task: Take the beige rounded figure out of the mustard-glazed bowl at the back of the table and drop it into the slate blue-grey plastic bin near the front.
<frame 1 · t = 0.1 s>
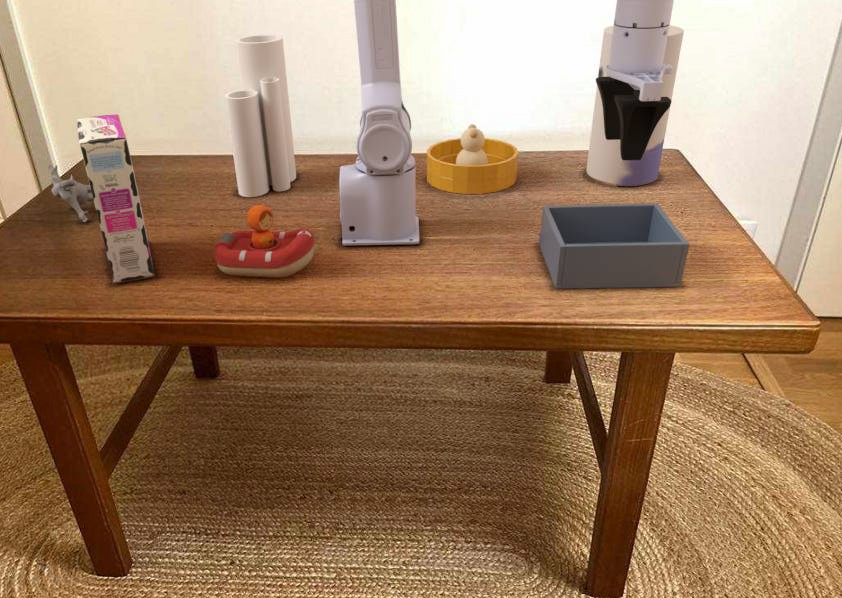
hand: (622, 148, 85), 10 cm above the table, tool pointing down, fingers open, 7 cm apart
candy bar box: (132, 263, 88), on the table
elephant figurine: (80, 212, 103), on the table
container: (621, 176, 106), on the table
bin: (605, 264, 82), on the table
bowl: (471, 181, 107), on the table
vase: (270, 185, 109), on the table
beige rounded figure: (471, 178, 106), resting on bowl
toy boat: (267, 268, 86), on the table
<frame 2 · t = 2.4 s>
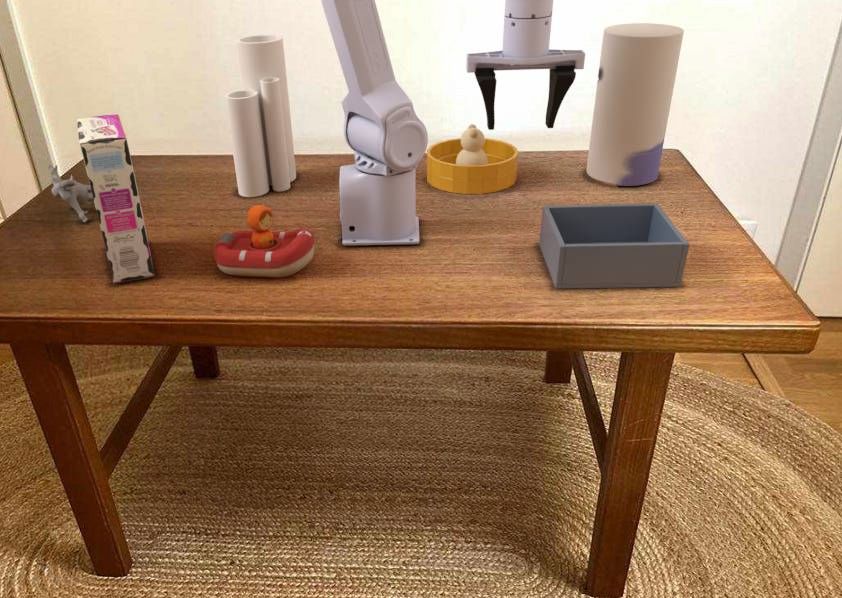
hand: (519, 126, 96), 10 cm above the table, tool pointing down, fingers open, 7 cm apart
nothing on the table moved.
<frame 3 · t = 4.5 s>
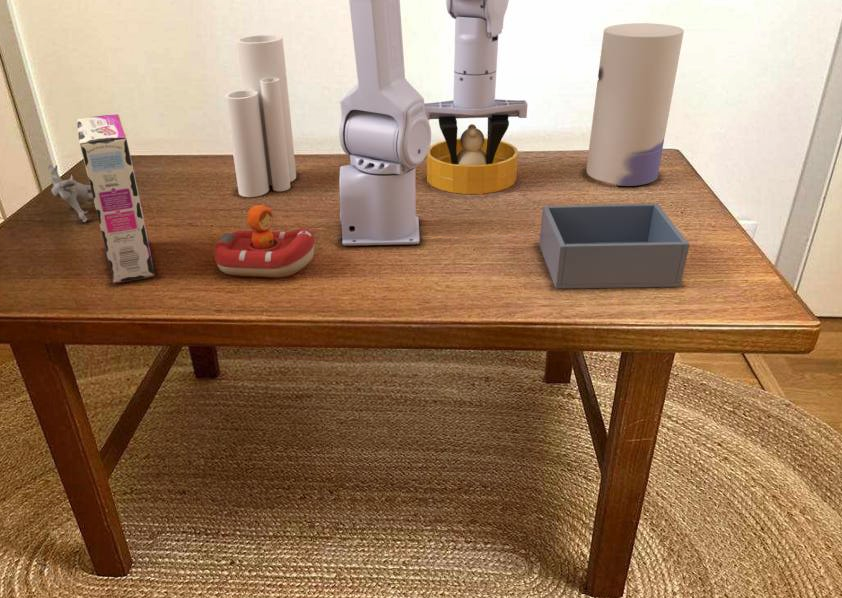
hand: (471, 168, 106), 2 cm above the table, tool pointing down, fingers closed on beige rounded figure, 4 cm apart
beige rounded figure: (470, 178, 106), resting on bowl, touching gripper
everything else where it was.
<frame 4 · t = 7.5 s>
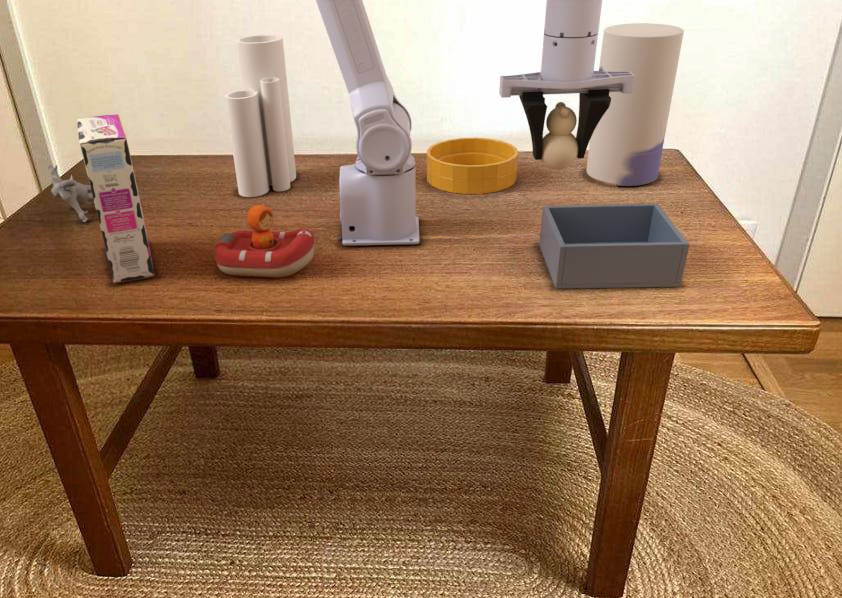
hand: (558, 156, 86), 9 cm above the table, tool pointing down, fingers closed on beige rounded figure, 4 cm apart
beige rounded figure: (556, 168, 87), point 8 cm above the table, touching gripper
everything else where it was.
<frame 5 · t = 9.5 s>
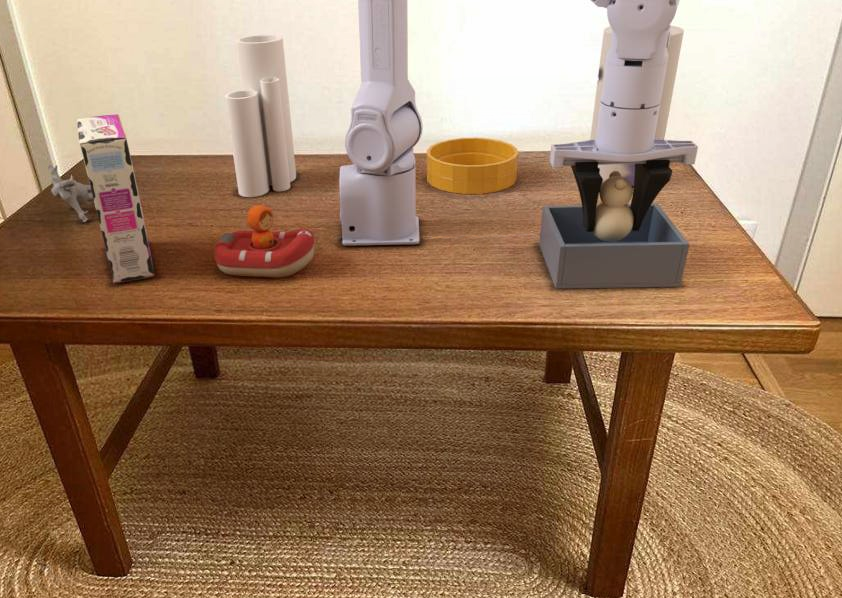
hand: (611, 227, 80), 5 cm above the table, tool pointing down, fingers closed on beige rounded figure, 4 cm apart
beige rounded figure: (608, 240, 81), point 3 cm above the table, touching gripper
everything else where it was.
when the fingers open (2 cm above the table, at t = 10.8 s): beige rounded figure stays where it is, resting on bin.
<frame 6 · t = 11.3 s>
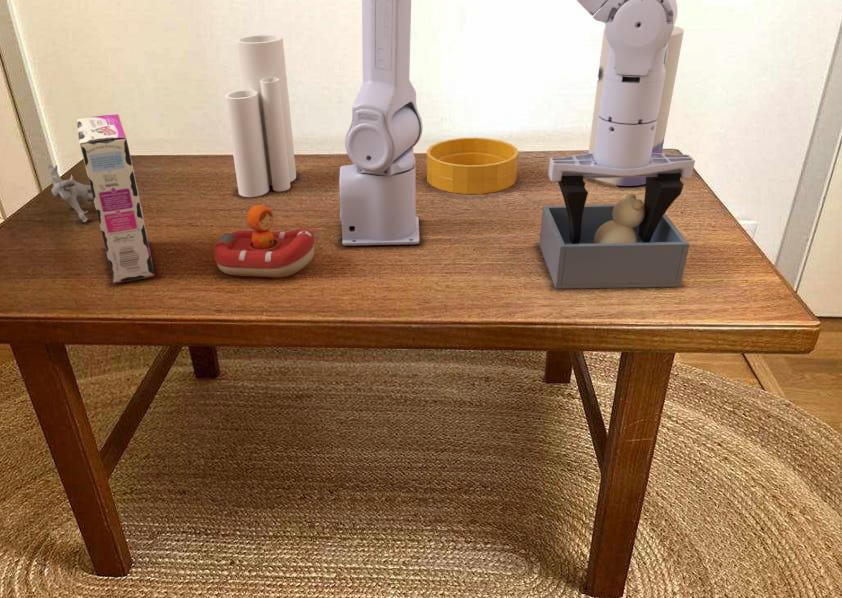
hand: (609, 240, 81), 3 cm above the table, tool pointing down, fingers open, 7 cm apart
beige rounded figure: (606, 259, 82), point 1 cm above the table, tilted 21°, touching bin, gripper
everything else where it was.
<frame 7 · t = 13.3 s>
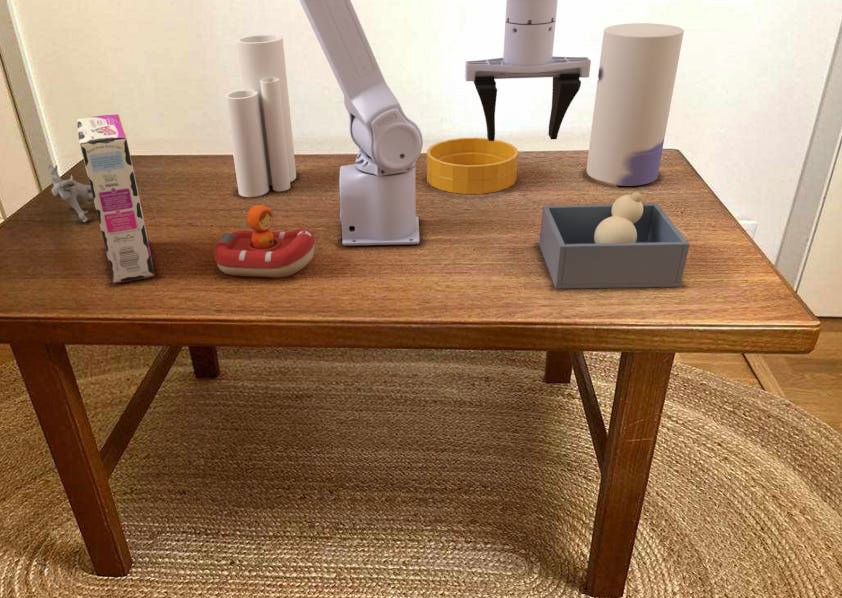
hand: (521, 137, 91), 10 cm above the table, tool pointing down, fingers open, 7 cm apart
beige rounded figure: (607, 255, 82), point 1 cm above the table, tilted 42°, touching bin
everything else where it was.
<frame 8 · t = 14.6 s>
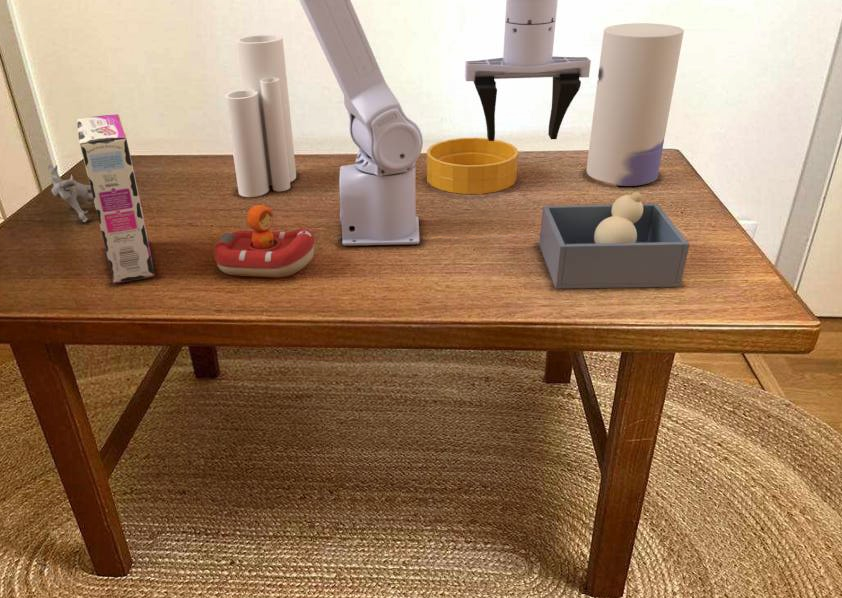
hand: (521, 137, 91), 10 cm above the table, tool pointing down, fingers open, 7 cm apart
nothing on the table moved.
at the end: beige rounded figure inside the target area in the bin (0.2 cm from its centre), point 1.1 cm above the bin's base; the gripper is holding nothing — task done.
